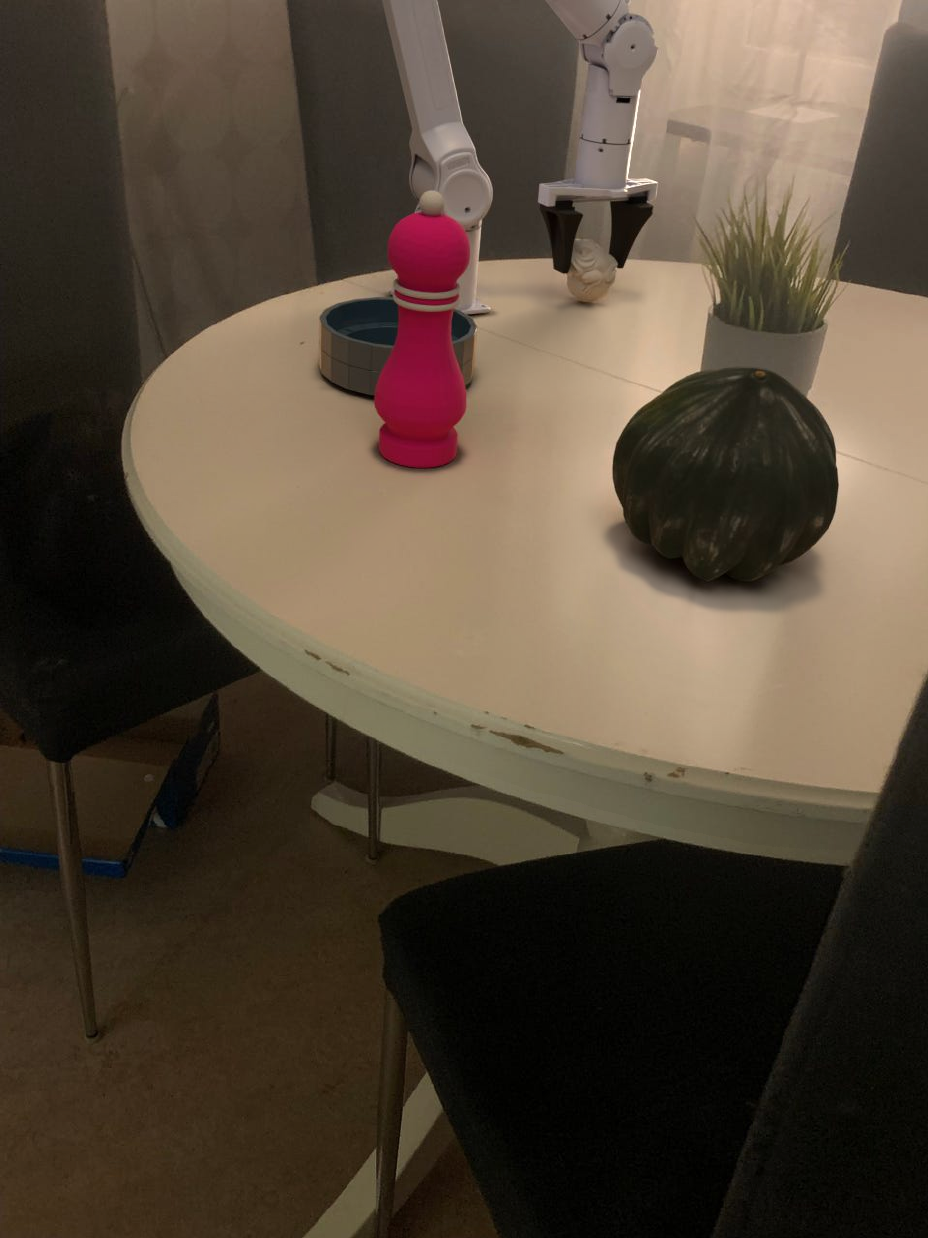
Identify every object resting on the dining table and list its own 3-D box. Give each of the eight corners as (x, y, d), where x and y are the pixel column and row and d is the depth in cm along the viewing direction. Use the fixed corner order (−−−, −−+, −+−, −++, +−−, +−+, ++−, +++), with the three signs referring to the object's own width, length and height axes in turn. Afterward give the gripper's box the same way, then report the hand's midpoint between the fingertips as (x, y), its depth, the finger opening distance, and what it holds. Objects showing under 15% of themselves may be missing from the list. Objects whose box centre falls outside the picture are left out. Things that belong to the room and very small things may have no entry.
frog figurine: (546, 293, 126) (553, 231, 122) (601, 292, 128) (609, 231, 124) (565, 310, 121) (573, 246, 117) (622, 308, 123) (632, 246, 119)
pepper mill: (452, 477, 83) (472, 207, 72) (361, 463, 84) (368, 194, 73) (470, 440, 89) (492, 186, 78) (385, 427, 90) (395, 174, 79)
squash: (699, 411, 84) (664, 292, 71) (882, 482, 77) (881, 364, 64) (603, 561, 82) (549, 468, 69) (781, 648, 75) (759, 562, 62)
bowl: (296, 356, 103) (295, 304, 100) (428, 341, 109) (431, 291, 106) (358, 412, 93) (360, 355, 90) (500, 392, 99) (505, 339, 96)
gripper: (570, 148, 109) (554, 283, 116) (682, 145, 115) (661, 273, 123) (533, 135, 114) (520, 265, 121) (642, 132, 120) (624, 256, 128)
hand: (588, 268), depth 122 cm, fingers open, 7 cm apart
